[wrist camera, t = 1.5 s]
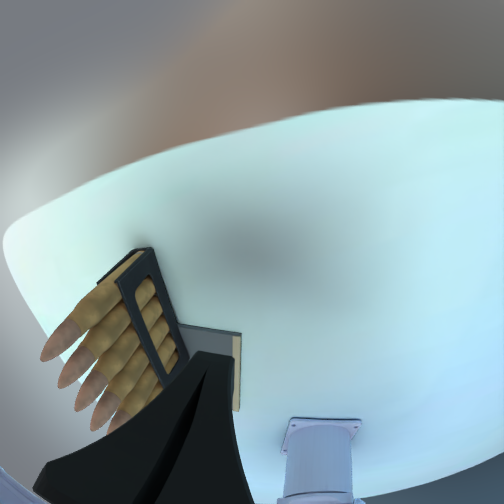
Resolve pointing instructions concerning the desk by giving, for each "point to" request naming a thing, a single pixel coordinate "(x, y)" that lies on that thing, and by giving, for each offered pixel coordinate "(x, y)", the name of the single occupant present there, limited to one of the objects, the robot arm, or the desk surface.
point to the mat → (215, 349)
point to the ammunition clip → (121, 341)
